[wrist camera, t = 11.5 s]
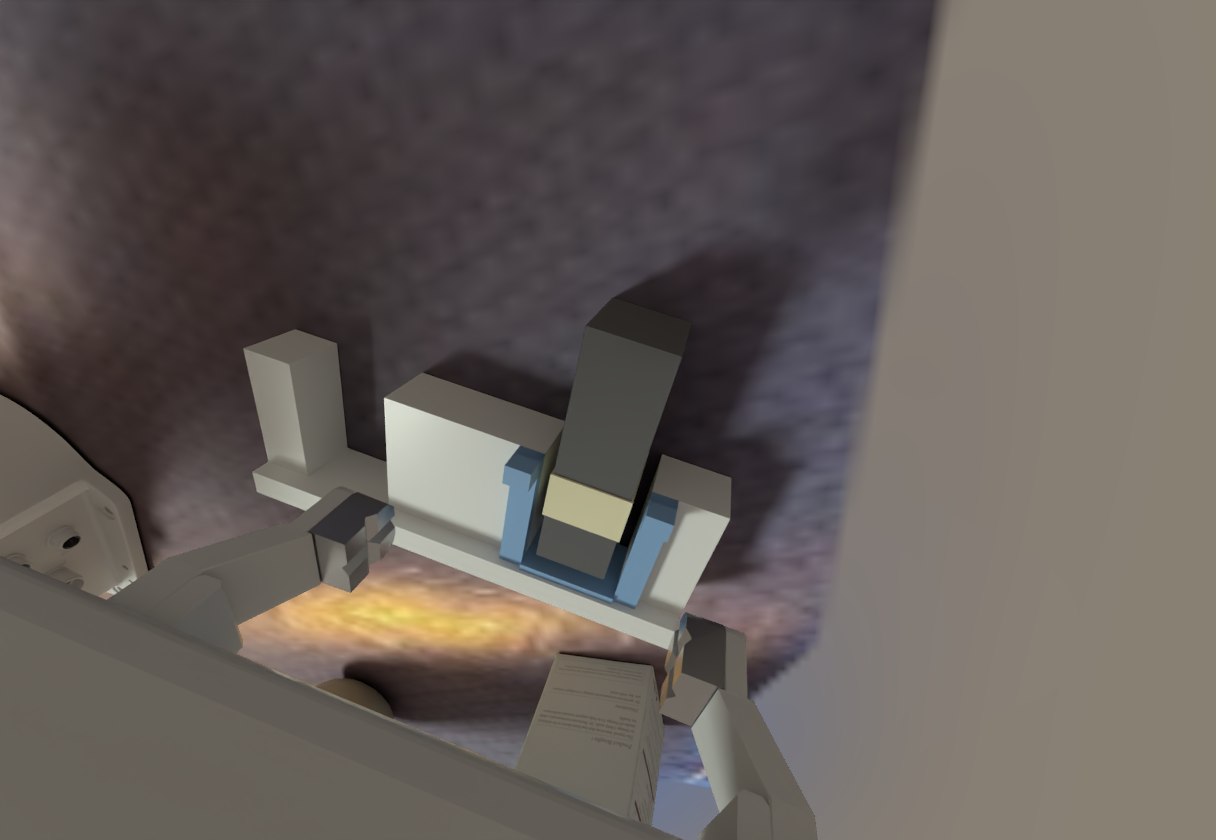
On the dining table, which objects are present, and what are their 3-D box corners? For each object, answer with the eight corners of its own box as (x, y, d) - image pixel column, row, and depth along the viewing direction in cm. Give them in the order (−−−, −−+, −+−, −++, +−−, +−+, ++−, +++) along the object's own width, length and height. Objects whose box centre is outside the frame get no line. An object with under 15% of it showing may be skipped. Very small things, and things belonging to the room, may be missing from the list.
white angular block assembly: (677, 587, 26) (667, 660, 22) (314, 453, 29) (247, 499, 25) (731, 477, 22) (729, 545, 18) (295, 329, 24) (209, 360, 20)
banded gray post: (623, 524, 25) (604, 582, 22) (561, 502, 25) (533, 555, 22) (694, 323, 19) (684, 358, 15) (610, 297, 19) (582, 325, 16)
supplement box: (574, 710, 36) (503, 942, 25) (555, 649, 32) (465, 887, 22) (667, 727, 34) (633, 988, 23) (657, 664, 30) (613, 935, 20)
